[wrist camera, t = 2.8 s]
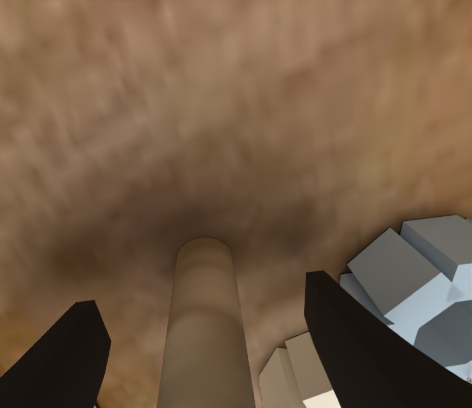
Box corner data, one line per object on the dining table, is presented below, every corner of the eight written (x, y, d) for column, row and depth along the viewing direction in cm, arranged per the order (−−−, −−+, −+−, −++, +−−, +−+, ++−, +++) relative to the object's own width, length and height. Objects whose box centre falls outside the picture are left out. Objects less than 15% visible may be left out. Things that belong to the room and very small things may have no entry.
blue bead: (332, 345, 16) (359, 403, 13) (346, 228, 12) (386, 274, 10) (462, 326, 16) (514, 378, 13) (511, 208, 13) (593, 246, 10)
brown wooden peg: (180, 286, 13) (152, 572, 6) (170, 240, 12) (119, 523, 4) (236, 279, 13) (277, 548, 6) (231, 232, 12) (276, 496, 5)
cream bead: (287, 422, 19) (301, 482, 16) (241, 358, 15) (249, 420, 13) (398, 382, 18) (432, 438, 15) (375, 305, 15) (414, 359, 12)
